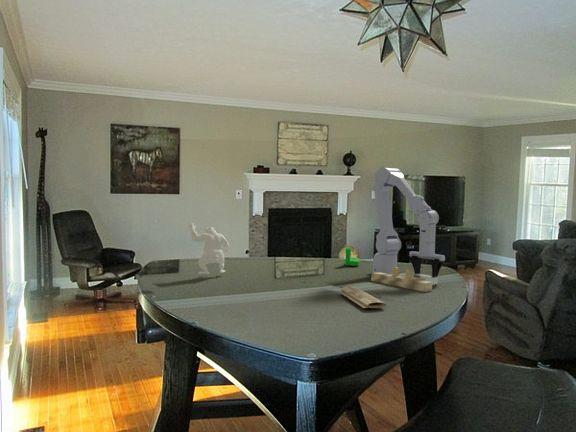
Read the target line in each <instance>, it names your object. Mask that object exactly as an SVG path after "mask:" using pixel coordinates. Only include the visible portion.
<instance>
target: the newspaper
mask: <svg viewBox="0 0 576 432" xmlns="http://www.w3.org/2000/svg"><path fill="white" fill-rule="evenodd" d="M337 292H338V293H340V294H341V295H343V297H346V298H348V299H349V300H350V301H352V302H353V303H355V304H357V305H358V306H359V307H361V308H362V309H365V308H366V309H368V308H370V309H382V308H385V307H387V304H386V302H384V301H382V300H380V299H378V298H376V297H374V296H373V295H371V294H370V293H368V292H366V291H364V290H363V289H360V288H358V287H356V286H352V285H350V286H347V285H346V286H343V287H341V288H340V290H338V291H337Z"/></svg>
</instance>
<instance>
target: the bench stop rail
mask: <svg viewBox="0 0 576 432" xmlns="http://www.w3.org/2000/svg"><path fill="white" fill-rule="evenodd" d="M405 273H406V277H403V276H399V274H400V267H392V274H387V273H382V272H374V273H373V272H371V274H370V275H371V278H370V281H371V282H376V283H381V284H384V285H390V286H394V287H395V286H396V287H400V288H405V289H409V290H412V291H413V290H414V291H419V292H423V293H424V292H425V293H427V292H432V291H433V285H432V282H429V281H424V280H419V279H413V278H412V277H413V273H414V269H411V268H410V269H408V268H407V269H405Z"/></svg>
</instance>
